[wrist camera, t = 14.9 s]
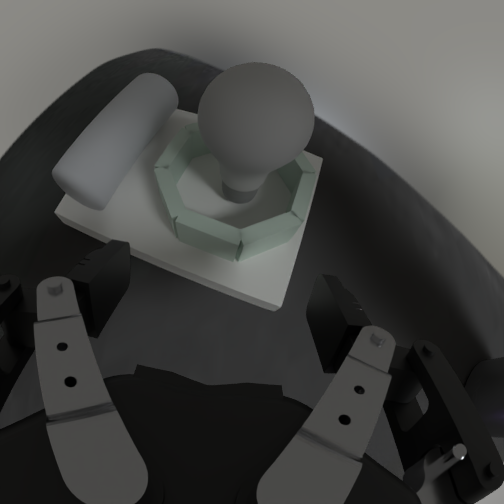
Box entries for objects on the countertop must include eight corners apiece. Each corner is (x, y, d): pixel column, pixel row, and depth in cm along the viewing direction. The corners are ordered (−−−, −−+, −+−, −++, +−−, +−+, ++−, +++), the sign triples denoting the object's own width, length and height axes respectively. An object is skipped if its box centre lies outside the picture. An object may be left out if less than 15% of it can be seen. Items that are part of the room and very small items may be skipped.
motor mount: (315, 171, 25) (344, 120, 19) (273, 311, 20) (306, 289, 13) (142, 114, 25) (134, 61, 18) (63, 223, 19) (26, 177, 13)
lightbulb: (199, 234, 19) (199, 108, 9) (196, 164, 21) (200, 42, 11) (283, 229, 20) (349, 119, 10) (270, 163, 22) (311, 51, 12)
